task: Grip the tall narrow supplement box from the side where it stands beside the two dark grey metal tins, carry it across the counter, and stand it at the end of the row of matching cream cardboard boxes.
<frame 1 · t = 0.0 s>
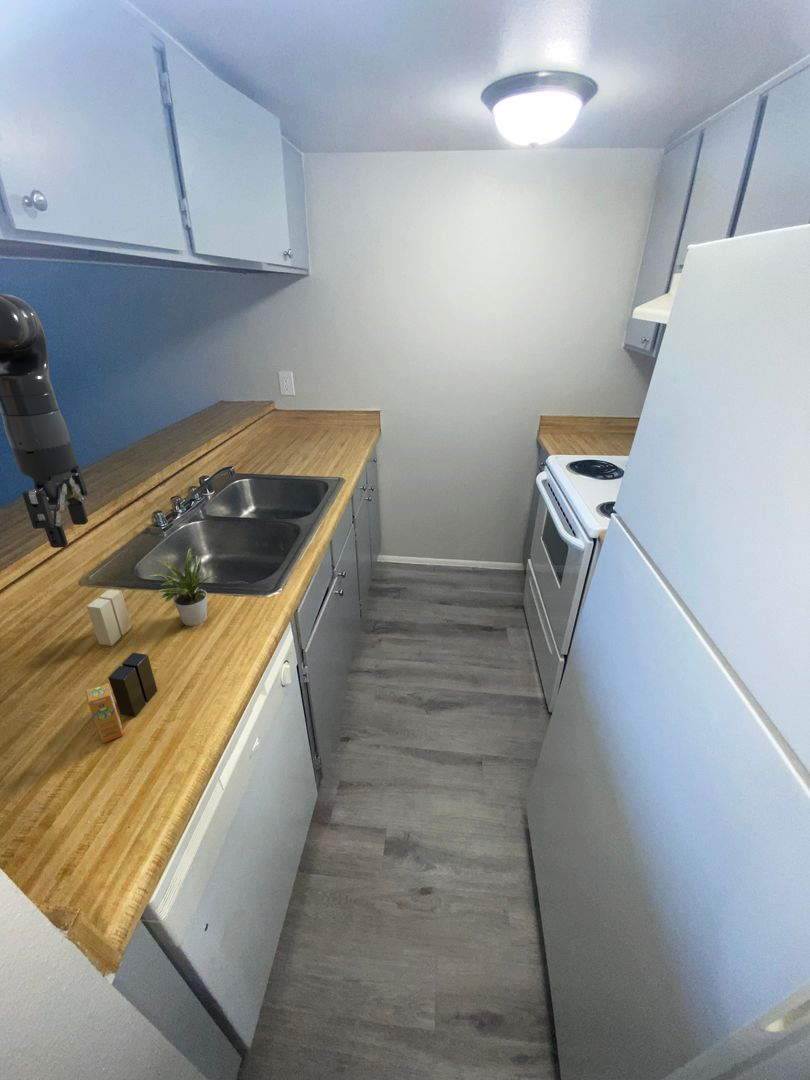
hand: (71, 534, 80), 31 cm above the worktop, tool pointing down, fingers open, 8 cm apart
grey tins: (139, 702, 88), on the worktop
cream boxes: (115, 635, 104), on the worktop
house plant: (192, 616, 111), on the worktop
supplement box: (112, 734, 81), on the worktop
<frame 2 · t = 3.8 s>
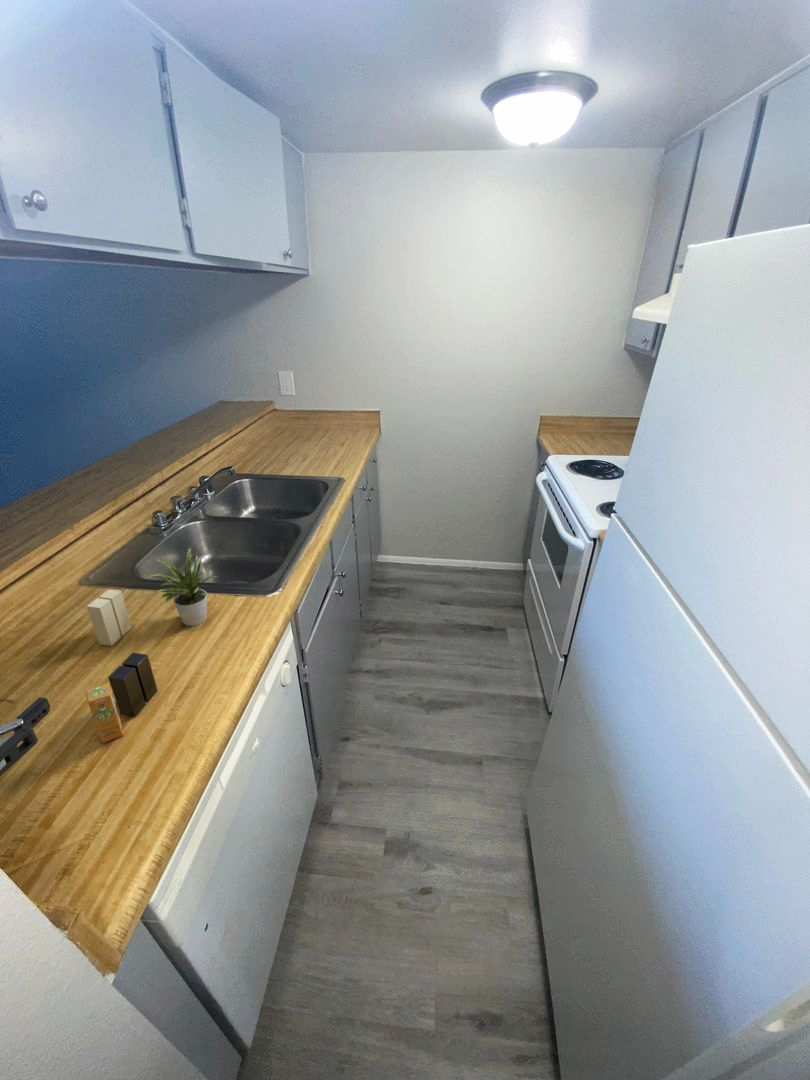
hand: (17, 697, 62), 20 cm above the worktop, tool horizontal, fingers open, 8 cm apart
nothing on the worktop moved.
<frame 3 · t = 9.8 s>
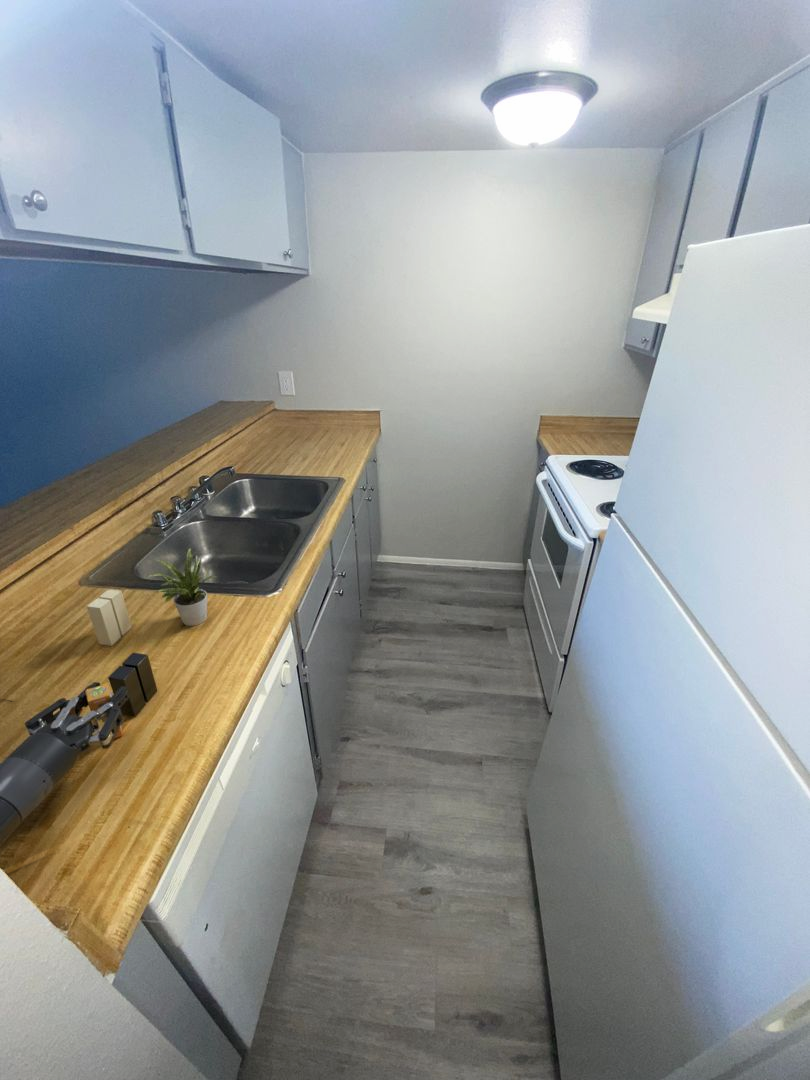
hand: (111, 688, 80), 8 cm above the worktop, tool horizontal, fingers closed on supplement box, 4 cm apart
supplement box: (112, 734, 81), on the worktop, touching gripper
everything else where it was.
when the fingers open (8 cm above the worktop, at t = 18.4 s): supplement box stays where it is, on the worktop.
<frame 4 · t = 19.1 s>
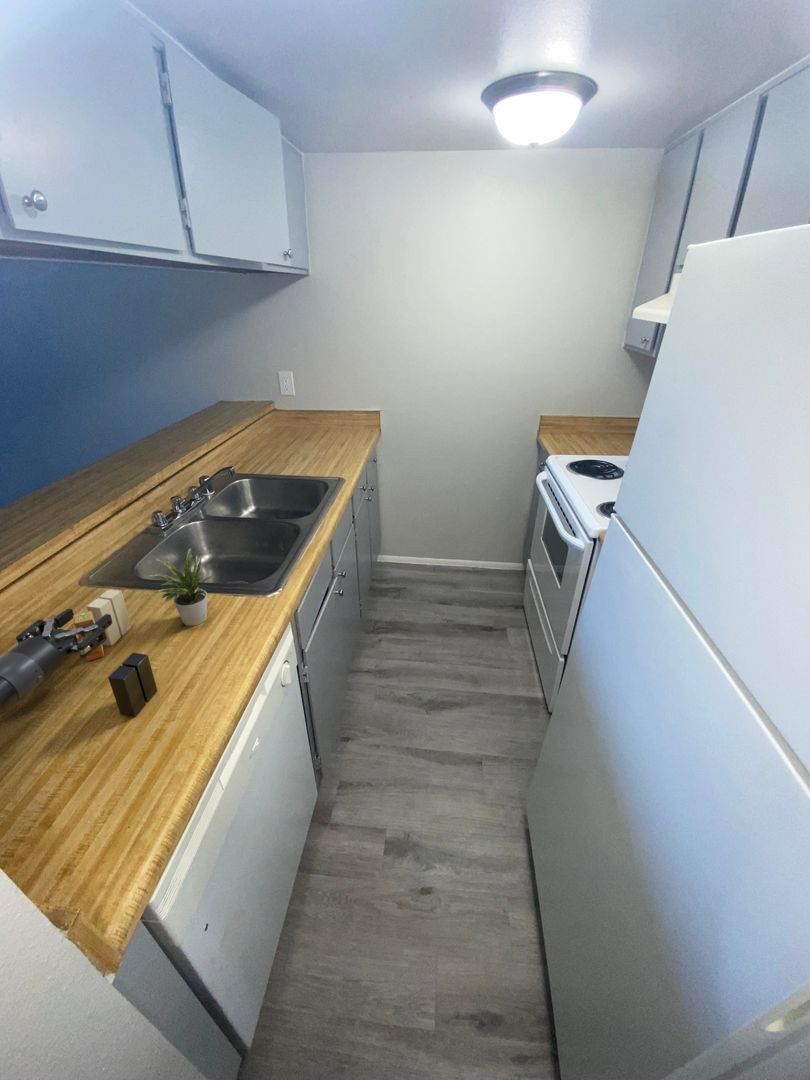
hand: (90, 615, 96), 9 cm above the worktop, tool horizontal, fingers open, 8 cm apart
supplement box: (95, 655, 98), on the worktop
everything else where it was.
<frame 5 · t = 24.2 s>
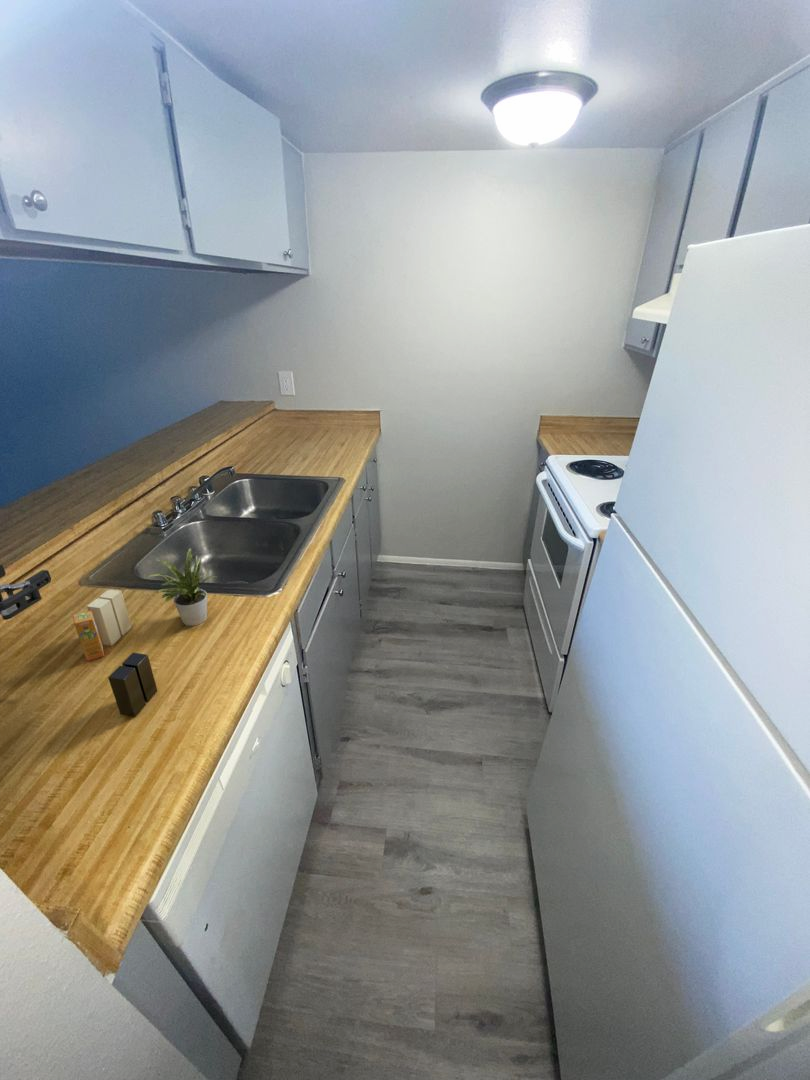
hand: (24, 571, 78), 26 cm above the worktop, tool horizontal, fingers open, 8 cm apart
nothing on the worktop moved.
at the end: supplement box 0.1 cm from the target spot on the worktop beside the cream boxes, on the worktop; supplement box tilted 0°; the gripper is holding nothing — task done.
